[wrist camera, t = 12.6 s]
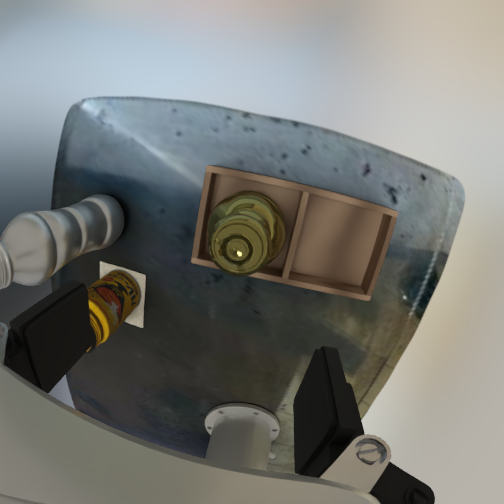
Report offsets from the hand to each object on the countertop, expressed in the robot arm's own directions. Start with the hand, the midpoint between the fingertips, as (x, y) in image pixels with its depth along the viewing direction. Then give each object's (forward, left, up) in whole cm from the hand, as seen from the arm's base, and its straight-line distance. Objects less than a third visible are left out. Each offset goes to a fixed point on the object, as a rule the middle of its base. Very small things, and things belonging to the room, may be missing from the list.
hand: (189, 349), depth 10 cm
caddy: (-3, -4, -22) cm, 23 cm away
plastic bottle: (+11, +14, -23) cm, 29 cm away
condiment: (+2, +20, -23) cm, 30 cm away
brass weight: (0, -1, -22) cm, 22 cm away
